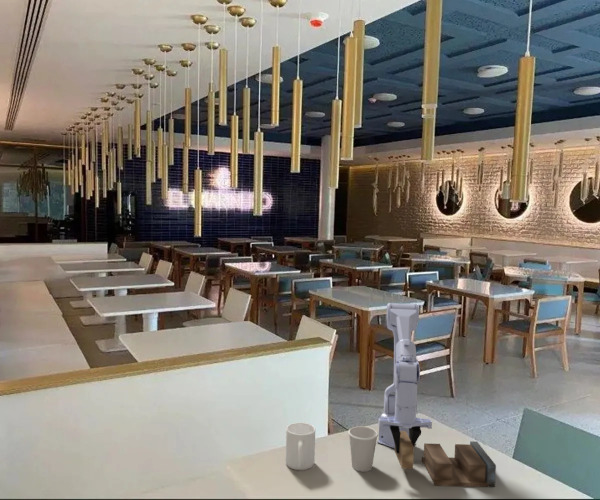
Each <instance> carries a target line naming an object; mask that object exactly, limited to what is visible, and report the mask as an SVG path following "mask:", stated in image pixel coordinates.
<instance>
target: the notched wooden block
mask: <svg viewBox="0 0 600 500" xmlns="http://www.w3.org/2000/svg"><path fill="white" fill-rule="evenodd" d="M469 443H470V444H464V443H462V444H456V443H455V444H454V457H448V454H447V453H446V452H445V450H444V449H443V446H442V445H441V444H440V443H425V442H424V444H423V456H422V457H421V462H422V465H423V466H424V468H425V470H426V471H427V473H428V475H429V478H430V479H431V481H432V483H433V485H434V486H437V487H439V486H440V487H442V486H443V487H479V488H481V486H482V488H484V487H485V488H486V487H487V488H495V487H496V472H497V471H496V470H497V465H496V463H495V462H494V460H492V458H491V457H490V456H489V454H487V452H486V451H485V449H484V448H483V447H482V446H481V444H480V443H479V442H478V441H471V440H470V442H469ZM488 486H489V487H488Z"/></svg>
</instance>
